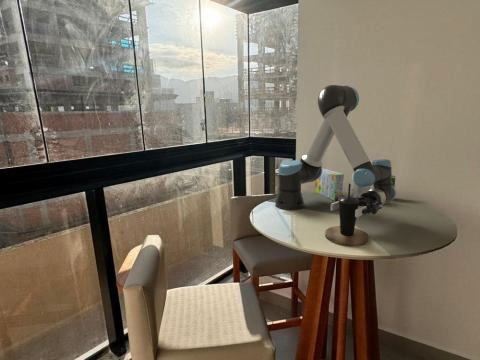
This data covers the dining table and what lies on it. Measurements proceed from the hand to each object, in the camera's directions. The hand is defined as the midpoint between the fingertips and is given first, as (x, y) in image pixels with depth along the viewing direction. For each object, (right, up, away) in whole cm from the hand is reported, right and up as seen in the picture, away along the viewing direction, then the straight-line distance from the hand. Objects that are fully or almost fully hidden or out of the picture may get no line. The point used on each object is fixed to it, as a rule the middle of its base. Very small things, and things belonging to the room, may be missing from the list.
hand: (343, 210), depth 110 cm
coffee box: (+44, +1, +56) cm, 71 cm away
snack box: (+13, +2, +64) cm, 65 cm away
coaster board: (+3, -11, +5) cm, 12 cm away
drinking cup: (+3, -10, +4) cm, 11 cm away
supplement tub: (+28, 0, +54) cm, 61 cm away
